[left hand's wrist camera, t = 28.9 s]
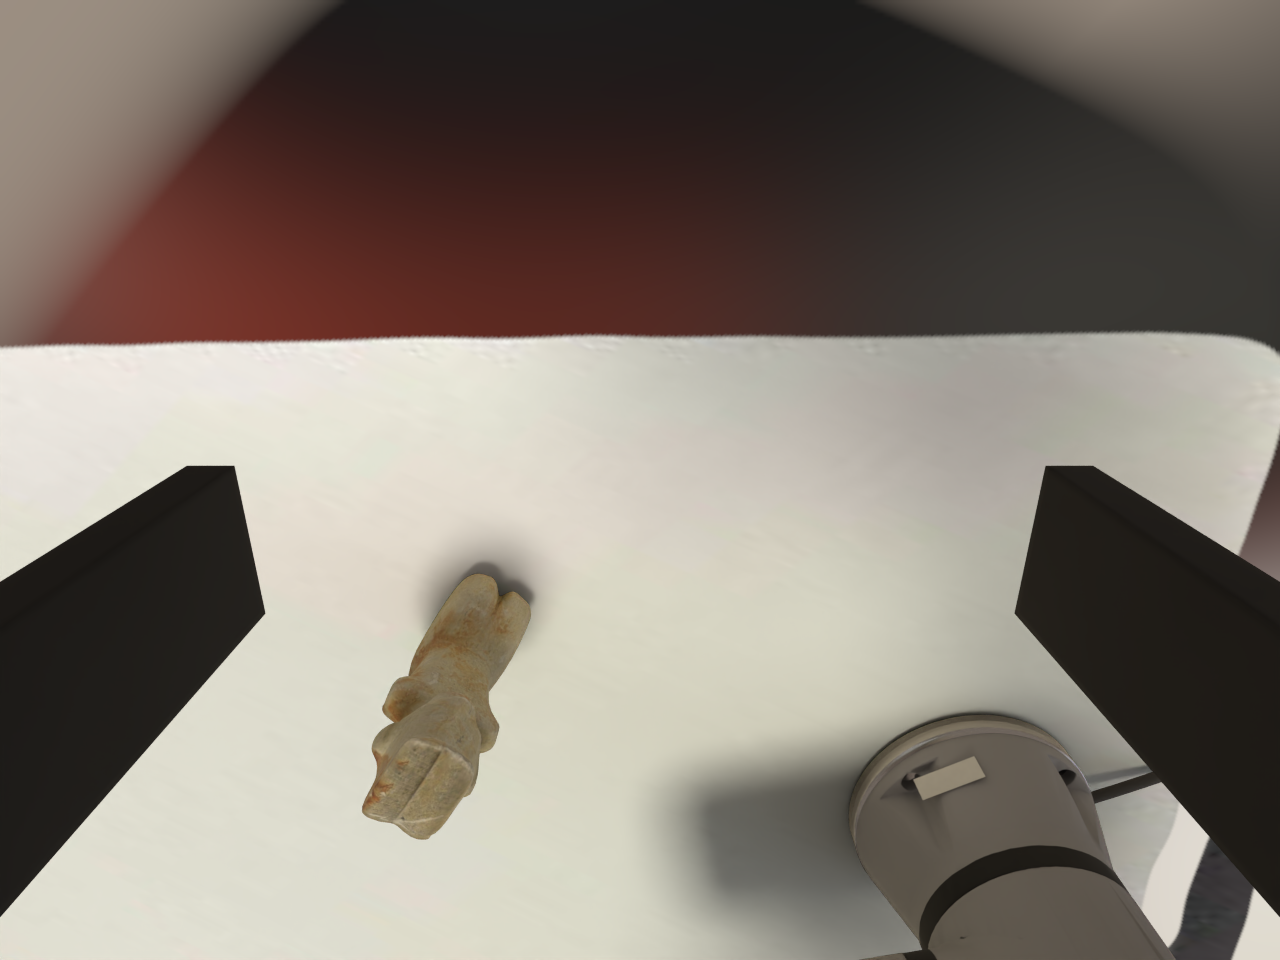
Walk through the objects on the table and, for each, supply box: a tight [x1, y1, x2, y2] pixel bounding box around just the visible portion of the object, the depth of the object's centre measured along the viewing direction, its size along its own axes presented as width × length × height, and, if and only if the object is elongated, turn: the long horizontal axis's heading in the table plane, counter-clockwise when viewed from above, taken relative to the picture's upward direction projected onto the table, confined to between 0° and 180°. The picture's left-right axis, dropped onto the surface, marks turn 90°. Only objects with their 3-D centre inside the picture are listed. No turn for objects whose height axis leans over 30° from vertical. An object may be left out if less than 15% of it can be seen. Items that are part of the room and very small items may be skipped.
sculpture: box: [362, 574, 531, 840], centre depth 38 cm, size 6×7×15 cm
